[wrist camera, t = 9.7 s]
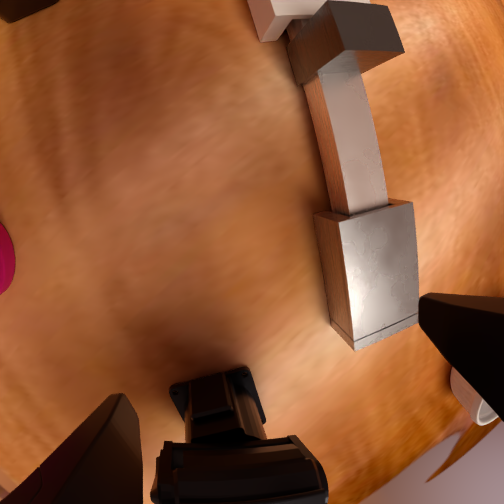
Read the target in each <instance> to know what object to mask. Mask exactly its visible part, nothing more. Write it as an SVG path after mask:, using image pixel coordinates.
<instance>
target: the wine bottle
mask: <svg viewBox="0 0 504 504" xmlns="http://www.w3.org/2000/svg"><path fill="white" fill-rule="evenodd" d="M57 1H58V0H0V18H1V19H3V20H4V21H6V22H7V23H9V22H13V21H16V20H18V19H20V18H22V17H24V16H26V15H29V14H31V13H33V12H36V11H38V10H40V9H43V8H45V7H48V6H50V5H52V4H54V3H55V2H57Z"/></svg>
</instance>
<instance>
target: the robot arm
mask: <svg viewBox="0 0 504 504" xmlns="http://www.w3.org/2000/svg"><path fill="white" fill-rule="evenodd" d="M418 323H419V325H420V327H421V329H422V330H423V331H424V332H425V334H426V335H427V336H428V337H429V339H430V340H431V341H432V342H433V344H434V345H435V346H436V348H437V349H438V350H439V351H440V353H441V354H442V355H443V356H444V358H445V359H446V360H447V361H448V362H449V363H450V364H451V365H452V366H453V367H454V368H455V369H456V370H457V372H458V373H459V374H460V375H461V376H462V377H463V378H464V379H465V380H466V381H467V382H468V383H469V384H470V385H471V386H472V388H473V389H474V390H475V391H476V392H477V393H478V394H479V395H480V396H481V397H482V398H483V400H484V401H485V402H486V403H487V404H488V405H489V406H490V407H491V408H492V410H493V411H494V412H495V413H496V414H497V415H498V416H499V417H500V419H501V420H502V421H503V422H504V298H503V297H487V296H472V295H457V294H444V293H427V294H425V295H423V296H421V297H420V298H419V300H418ZM244 372H246V374H245V375H243V374H242V373H244ZM174 390H176V391H178V392H173V391H174ZM169 394H170V396H171V398H172V400H173V402H174V404H175V406H176V408H177V410H178V412H179V413H180V415H181V417H182V419H183V421H184V423H185V440H186V443H173V442H172V441H164V446H163V449H161V451H160V456H159V457H157V458H156V475H155V479H154V482H153V485H152V489H151V492H150V497H151V501H152V502H153V503H154V504H327V502H328V483H327V478H326V475H325V472H324V470H323V468H322V466H321V464H320V463H319V461H318V460H317V459H316V458H315V457H314V456H313V454H312V453H311V452H310V451H309V450H308V449H307V448H306V447H305V445H304V444H303V443H302V442H301V441H300V440H299V438H298V437H297V436H296V435H289V436H287V437H284V438H276V439H267V437H266V434H265V431H264V428H263V424H265V423H266V418H265V415H264V412H263V409H262V406H261V402H260V399H259V396H258V393H257V390H256V387H255V384H254V381H253V378H252V374H251V371H250V369H249V368H248V367H241V368H237V369H234V370H230V371H226V372H223V373H217V374H214V375H210V376H206V377H202V378H198V379H194V380H191V381H188V382H184V383H180V384H176V385H172V386H171V387H170V388H169ZM261 419H262V420H261ZM0 504H143V462H142V451H141V441H140V429H139V419H138V416H137V413H136V412H135V410H134V408H133V407H132V405H131V403H130V402H129V400H128V398H127V397H126V395H125V394H123V393H118V394H112V395H110V396H108V397H107V398H106V399H105V400H104V401H103V402H102V404H101V405H100V406H99V407H98V408H97V409H96V410H95V411H94V412H93V413H92V414H91V415H90V416H89V417H88V418H87V419H86V420H85V421H84V422H83V423H82V424H81V425H80V426H79V427H78V428H77V429H76V430H75V431H74V432H73V433H72V434H71V435H70V436H69V437H68V438H67V439H66V440H65V441H64V442H63V443H62V444H61V445H60V446H59V447H58V448H57V449H56V450H55V451H54V452H53V453H52V454H51V455H50V456H49V457H48V458H47V459H46V460H45V461H44V462H43V463H42V464H41V465H40V467H37V468H36V470H35V471H34V472H33V473H32V474H31V475H30V476H28V477H27V478H26V479H25V480H24V481H23V482H22V483H21V484H20V485H19V486H18V487H17V488H15V490H13V491H12V492H11V493H10V494H9V495H7V496H6V497H5V498H4V499H2V500H1V501H0Z"/></svg>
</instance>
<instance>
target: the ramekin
mask: <svg viewBox="0 0 504 504" xmlns="http://www.w3.org/2000/svg"><path fill="white" fill-rule="evenodd" d="M450 382H451V389H452V392H453V394H454V396H455V397H456V398H457V400H458V401H459V402H460V403H461V404H462V406H463V407H464V408H465V409H466V410H467V411H468V412H469V413H470V416H471V419H472V420H473V421H474V422H475V423H477V424H478V425H486V424H488V423H490V422H492V421H493V420H495V419H496V418H497V417H498V415H497V414H496V413H495V412H494V411H493V410H492V408H491V407H490V406H489V405H488V404H487V403H486V402H485V401H484V400H483V398H482V397H481V396H480V395H479V394H478V393H477V392H476V391H475V390H474V389H473V388H472V386H471V385H470V384H469V383H468V382H467V381H466V380H465V379H464V378H463V377H462V376H461V375H460V374H459V373H458V372H457V370H456V369H455V368H454V367H453V366H452V370H451V375H450Z"/></svg>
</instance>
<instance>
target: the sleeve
mask: <svg viewBox="0 0 504 504" xmlns="http://www.w3.org/2000/svg"><path fill="white" fill-rule="evenodd" d="M388 204H389V206H387V207H384V208H380V209H376V210H373V211H369V212H365V213H362V214H358V215H354V216H351V217H347V216H343V215H340V214H336V213H332V212H328V211H322V212H319V213H315V214H313V220H314V225H315V230H316V235H317V241H318V246H319V252H320V258H321V263H322V269H323V275H324V281H325V288H326V294H327V300H328V307H329V314H330V317H331V318H330V321H331V327H332V328H333V329H334V330H335V331H336V332H337V333H338V334H339V335H340V336H341V337H342V338H343V339H344V341H345V342H346V343H347V344H348V345H349V346H350V347H351V348H352V349H353V350H354V351H357V350H359V349H362V348H364V347H366V346H369V345H371V344H373V343H376V342H378V341H380V340H382V339H385V338H387V337H389V336H391V335H393V334H395V333H398V332H400V331H402V330H404V329H406V328H408V327H410V326H412V325H414V324H416V323H418V300H419V278H418V255H417V240H416V228H415V218H414V209H413V202H409V201H403V200H397V199H390V198H388Z"/></svg>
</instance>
